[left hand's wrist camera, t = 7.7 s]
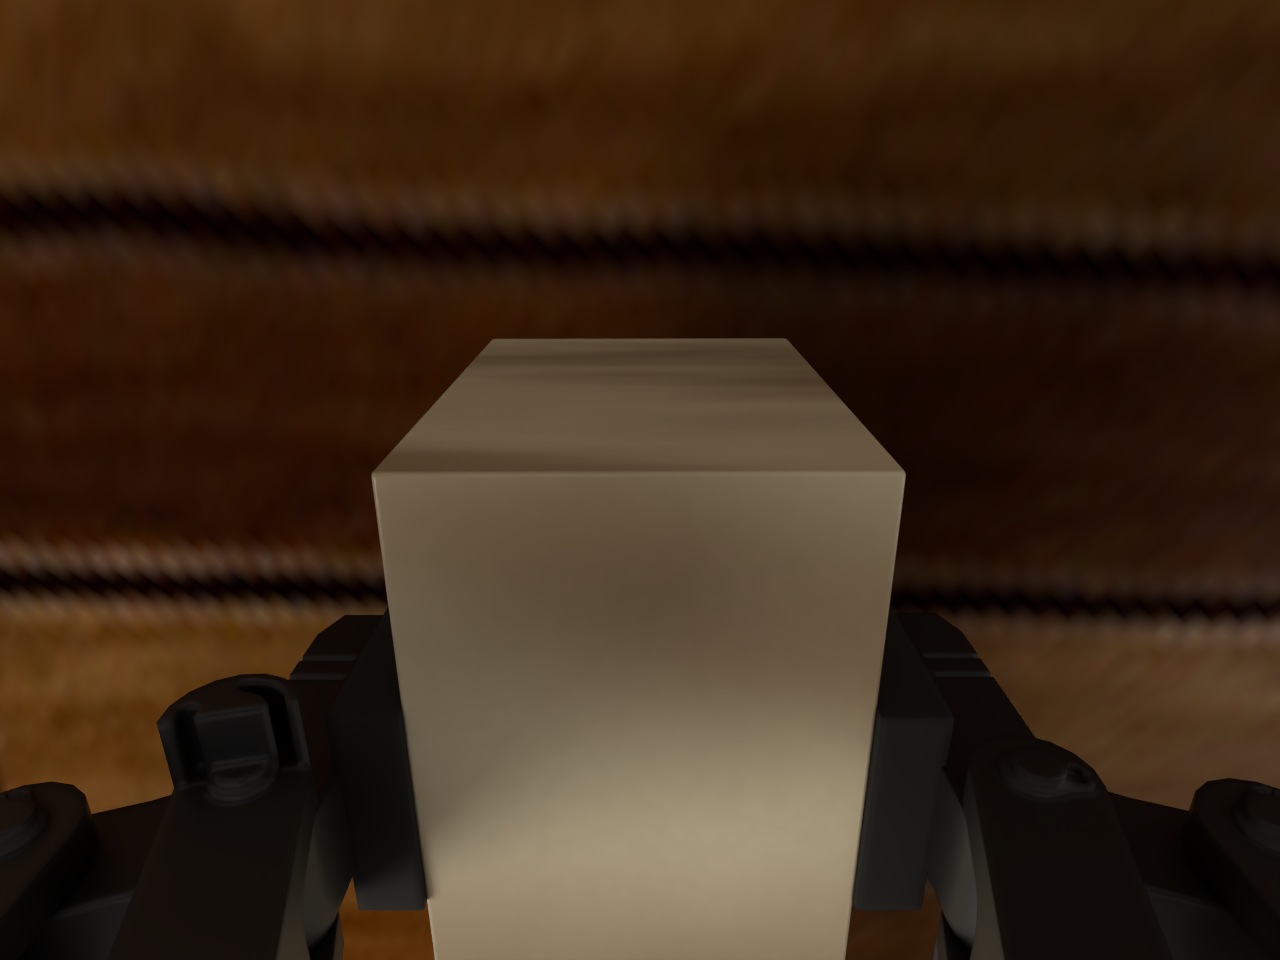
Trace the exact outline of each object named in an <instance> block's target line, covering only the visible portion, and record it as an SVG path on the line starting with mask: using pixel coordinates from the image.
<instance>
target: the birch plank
mask: <svg viewBox="0 0 1280 960" xmlns="http://www.w3.org/2000/svg"><path fill="white" fill-rule="evenodd" d="M905 478H906V474H905V471H904V470H903V469H902V468H901V467H900V466H899V464H898V463H897V462H896V461H895V460H894V459H893V458H892V457H891V456H890V454H889V453H888V452H887V451H886V450H885V449H884V448H883V447H882V445H881V444H880V443H879V442H878V441H877V440H876V439H875V438H874V436H873V435H872V434H871V433H870V432H869V431H868V430H867V429H866V427H865V426H864V425H863V424H862V423H861V422H860V421H859V420H858V418H857V417H856V416H855V415H854V414H853V413H852V412H851V411H850V410H849V408H848V407H847V406H846V405H845V404H844V403H843V402H842V401H841V399H840V398H839V397H838V396H837V395H836V394H835V393H834V392H833V390H832V389H831V388H830V387H829V386H828V385H827V384H826V383H825V381H824V380H823V379H822V378H821V377H820V376H819V375H818V374H817V373H816V371H815V370H814V369H813V368H812V367H811V366H810V365H809V364H808V362H807V361H806V360H805V359H804V358H803V357H802V356H801V355H800V353H799V352H798V351H797V350H796V349H795V348H794V347H793V346H792V344H791V343H790V342H789V341H788V340H787V339H785V338H771V339H493V340H492V341H491V342H490V343H489V344H488V345H487V346H486V347H485V348H484V349H483V351H482V352H481V353H480V354H479V355H478V356H477V357H476V358H475V359H474V361H473V362H472V363H471V364H470V365H469V366H468V367H467V368H466V369H465V371H464V372H463V373H462V374H461V375H460V376H459V377H458V378H457V379H456V380H455V382H454V383H453V384H452V385H451V386H450V387H449V388H448V389H447V390H446V392H445V393H444V394H443V395H442V396H441V397H440V398H439V399H438V400H437V402H436V403H435V404H434V405H433V406H432V407H431V408H430V409H429V410H428V411H427V413H426V414H425V415H424V416H423V417H422V418H421V419H420V420H419V421H418V423H417V424H416V425H415V426H414V427H413V428H412V429H411V430H410V431H409V433H408V434H407V435H406V436H405V437H404V438H403V439H402V440H401V441H400V442H399V444H398V445H397V446H396V447H395V448H394V449H393V450H392V451H391V452H390V454H389V455H388V456H387V457H386V458H385V459H384V460H383V461H382V462H381V464H380V465H379V466H378V467H377V468H376V469H375V470H374V471H373V473H372V484H373V492H374V499H375V507H376V515H377V522H378V530H379V537H380V545H381V553H382V560H383V568H384V575H385V583H386V591H387V598H388V606H389V613H390V621H391V629H392V636H393V644H394V651H395V659H396V667H397V674H398V682H399V690H400V697H401V705H402V711H403V719H404V726H405V734H406V742H407V749H408V757H409V764H410V772H411V780H412V787H413V795H414V803H415V810H416V818H417V826H418V833H419V841H420V848H421V856H422V864H423V871H424V879H425V887H426V894H427V903H428V910H429V918H430V925H431V933H432V941H433V948H434V956H435V960H845V956H846V948H847V940H848V932H849V924H850V916H851V908H852V900H853V891H854V883H855V875H856V868H857V860H858V852H859V844H860V836H861V828H862V820H863V812H864V804H865V796H866V788H867V780H868V772H869V764H870V756H871V748H872V740H873V732H874V724H875V716H876V709H877V701H878V693H879V685H880V677H881V669H882V661H883V653H884V645H885V637H886V629H887V621H888V613H889V605H890V597H891V589H892V581H893V573H894V565H895V557H896V550H897V542H898V534H899V526H900V518H901V510H902V502H903V494H904V486H905Z"/></svg>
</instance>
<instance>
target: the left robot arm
mask: <svg viewBox="0 0 1280 960" xmlns="http://www.w3.org/2000/svg"><path fill="white" fill-rule="evenodd" d="M157 726H158V730H159V733H160V737H161V741H162V744H163V748H164V752H165V755H166V759H167V763H168V766H169V770H170V774H171V777H172V781H173V785H174V790H173V793H172V795H170V796H166V797H163V798H159V799H156V800H153V801H149V802H144V803H140V804H135V805H131V806H126V807H122V808H117V809H113V810H108V811H104V812H99V813H95V814H91V811H90V808H89V805H88V802H87V799H86V796H85V794H84V793H82V792H81V791H80V790H79V789H77V788H76V787H75V786H74V785H71V784H64V783H57V782H45V783H38V784H31V785H24V786H21V787H18V788H15V789H11V790H9V791H5V792H2V793H0V960H342V957H343V946H344V940H343V933H342V927H341V921H340V916H339V908H340V906H341V903H342V901H343V898H344V896H345V893H346V891H347V888H348V886H349V883H350V881H351V878H352V876H353V880H354V886H355V892H356V897H357V903H358V909H359V910H424V908H425V904H426V901H427V894H426V887H425V879H424V871H423V864H422V856H421V848H420V841H419V833H418V826H417V818H416V810H415V803H414V795H413V787H412V780H411V772H410V764H409V757H408V749H407V742H406V734H405V726H404V719H403V711H402V705H401V697H400V690H399V682H398V674H397V667H396V659H395V651H394V644H393V636H392V629H391V621H390V613H389V606H388V608H387V610H386V612H385V613H384V615H345V616H343V617H342V618H341V619H339V620H338V621H336V622H335V623H333V624H332V625H331V626H329V627H328V628H326V629H325V630H324V631H322V632H321V633H319V634H318V635H317V637H316V638H315V639H314V641H313V642H312V644H311V645H310V647H309V648H308V650H307V651H306V653H305V654H304V655H303V660H302V661H299V663H298V664H297V666H296V667H295V669H294V670H293V671H292V673H291V674H290V680H286V679H285V678H282V677H277V676H273V675H269V674H243V675H238V676H233V677H229V678H225V679H221V680H216V681H214V682H211V683H209V684H207V685H204V686H202V687H200V688H197V689H195V690H193V691H190V692H189V693H187V694H186V695H185V696H183V697H182V698H180V699H179V700H177V701H176V702H175V703H173V704H172V705H170V706H169V707H168V709H167V710H166V711H165V712H164V714H163V715H162V716H161V718H160V719H159V720H158V721H157ZM927 873H928V876H929V878H930V881H931V883H932V886H933V888H934V891H935V893H936V895H937V898H938V900H939V903H940V905H941V908H942V910H941V916H940V921H939V926H938V932H937V937H936V942H935V947H934V953H933V958H932V960H1280V789H1277V788H1275V787H1274V788H1273V787H1271V786H1268V785H1264V784H1261V783H1258V782H1253V781H1246V780H1238V779H1231V778H1227V779H1220V780H1214V781H1207V782H1206V783H1205V784H1204V785H1202V786H1201V787H1200V788H1199V789H1198V790H1196V791H1195V794H1194V797H1193V800H1192V803H1191V806H1190V809H1189V811H1187V810H1182V809H1178V808H1173V807H1169V806H1164V805H1160V804H1155V803H1151V802H1146V801H1142V800H1137V799H1133V798H1128V797H1125V796H1122V795H1118V794H1115V793H1111V792H1108V791H1107V789H1106V786H1105V785H1104V784H1103V782H1102V781H1101V779H1100V778H1099V776H1098V775H1097V773H1096V772H1095V770H1094V769H1093V768H1092V767H1090V766H1089V765H1088V764H1087V763H1085V762H1084V761H1083V760H1082V759H1080V758H1079V757H1078V756H1077V755H1075V754H1074V753H1072V752H1070V751H1068V750H1066V749H1064V748H1062V747H1060V746H1058V745H1056V744H1053V743H1051V742H1049V741H1045V740H1041V739H1037V738H1035V737H1034V735H1033V734H1032V732H1031V731H1030V729H1029V728H1028V726H1027V725H1026V724H1025V722H1024V721H1023V719H1022V718H1021V716H1020V715H1019V713H1018V712H1017V711H1016V709H1015V708H1014V706H1013V705H1012V703H1011V702H1010V700H1009V699H1008V698H1007V696H1006V695H1005V693H1004V692H1003V690H1002V689H1001V687H1000V686H999V685H998V683H997V682H996V680H995V679H994V677H990V672H989V670H988V669H987V667H986V666H985V664H984V663H983V662H982V660H981V659H980V658H977V653H976V651H975V650H974V649H973V647H972V646H971V644H970V643H969V641H968V640H967V638H966V637H965V636H964V634H963V633H962V632H961V631H960V630H959V629H957V628H956V627H954V626H953V625H951V624H950V623H949V622H947V621H946V620H944V619H943V618H941V617H940V616H939V615H937V614H936V613H894V611H893V609H892V607H891V606H890V605H889V613H888V621H887V629H886V637H885V645H884V653H883V661H882V669H881V677H880V685H879V693H878V701H877V709H876V716H875V724H874V732H873V740H872V748H871V756H870V764H869V772H868V780H867V788H866V796H865V804H864V812H863V820H862V828H861V836H860V844H859V852H858V860H857V868H856V875H855V883H854V891H853V902H854V906H855V909H856V910H921V906H922V900H923V895H924V889H925V883H926V878H927Z"/></svg>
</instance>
